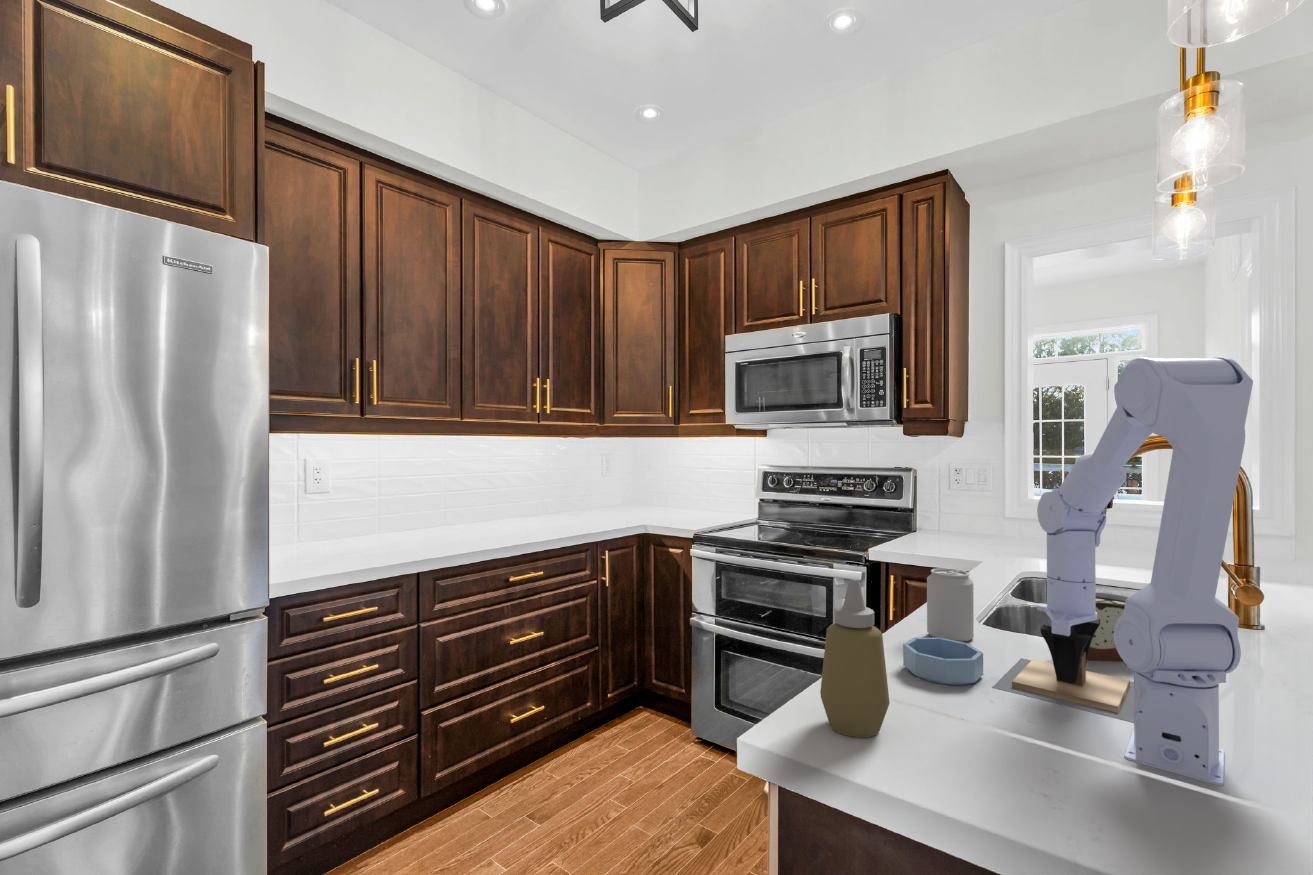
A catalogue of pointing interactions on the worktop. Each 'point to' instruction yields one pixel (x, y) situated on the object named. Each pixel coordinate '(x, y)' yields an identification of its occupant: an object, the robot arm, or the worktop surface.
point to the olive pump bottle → (854, 669)
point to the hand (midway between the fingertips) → (1071, 674)
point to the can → (950, 605)
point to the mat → (1123, 714)
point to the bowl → (943, 660)
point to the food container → (1106, 627)
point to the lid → (1074, 685)
